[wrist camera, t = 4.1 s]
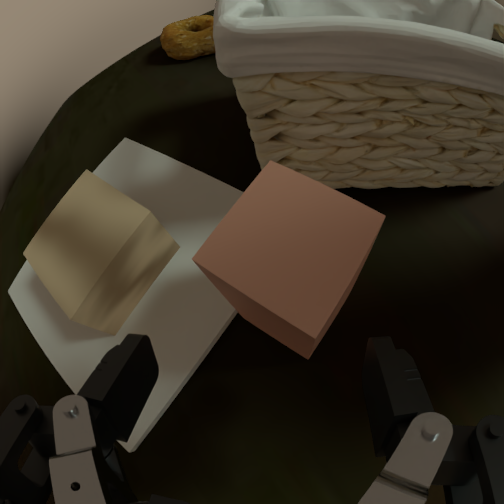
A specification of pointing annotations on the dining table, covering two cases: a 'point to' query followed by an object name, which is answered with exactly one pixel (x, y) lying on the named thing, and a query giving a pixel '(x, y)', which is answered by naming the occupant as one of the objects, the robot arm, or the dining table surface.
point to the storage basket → (370, 88)
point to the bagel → (189, 38)
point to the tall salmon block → (289, 254)
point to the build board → (161, 291)
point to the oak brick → (99, 253)
